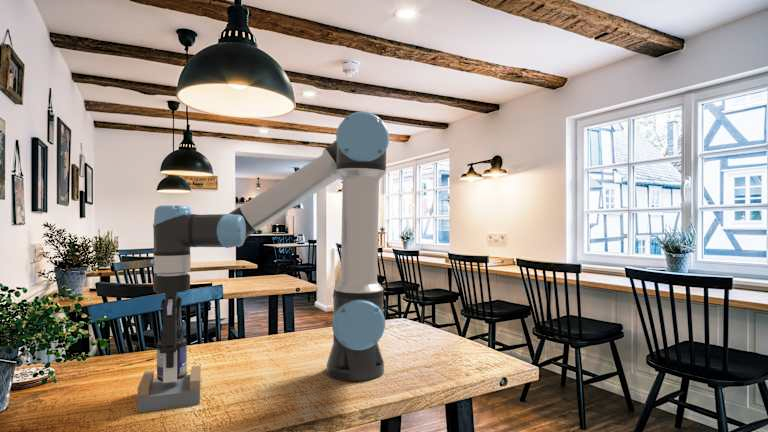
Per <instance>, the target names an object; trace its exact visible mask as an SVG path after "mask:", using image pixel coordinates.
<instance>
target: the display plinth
mask: <svg viewBox="0 0 768 432" xmlns="http://www.w3.org/2000/svg"><path fill="white" fill-rule="evenodd" d="M201 369H202V367H201V365H192V366H191V368H190V374H186V376H185V377H183V378H181V379H178V380H177V381H176V382H167V383H163V381H159V380H158V379H157V377H156V378H155V370H149V371H144V372H143V375H142V377H141V379H140V381H139V385H138V386H137V398H136V400H137V402H136V403H137V405H136V406H137V407H136V410H137V411H136V413H138V414H140V413H145V412H152V411H161V410H167V409H175V408H182V407H190V406H196V405H200V404H201V402H200V401H201V383H202V382H201V381H202V379H201V377H202V376H201Z"/></svg>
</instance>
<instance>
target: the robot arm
mask: <svg viewBox="0 0 768 432" xmlns="http://www.w3.org/2000/svg"><path fill="white" fill-rule="evenodd" d="M335 138H336V139H335V140H334V141H333V142H332V143H331V144H330V145H328V146H326V147H325V148H324V149H322V150H323V152H322V154H321V155H319V156H318V157H316V158H315V159H313V160H312V161H310V162H309V163H307V164H306V165H303V166H302V167H300V168H299V169H297V170H295V171H294V172H293V173H290V175H288V176H286V177H285V178H282V179H281V180H280V181H279V182H277V183H275V184H273V185H272V186H271V187H268V188H267V189H266V190H264V191H262V192H260V193H259V194H257V195H255V196H254V197H253V198H251V199H250V200H248V201H246V202H245V203H243V204H242V205H240V206H239V207H237V208H235V209H233V210H232V211H230V212H229V213H224V214H223V213H221V214H220V213H219V214H217V213H216V214H195V213H192V211H191V208H190V206H189V205H173V204H172V205H171V204H170V205H169V204H168V205H166V204H165V205H163V204H162V205H158V206H156V208H155V209H154V212H153V213H154V216H153V224H152V227H153V258H152V259H151V260H150V264H151V265H153V273H155V275H154V276H153V277H152V279H153V282H152V284H153V286H152V289H153V292H155V293H156V294H165V295H164V298H162V300H161V303H160V305H161V306H160V308H161V309H162V310H161V311H162V313H161V315H162V316H161V319H162V321H163V323H162V325H163V326H162V328H163V348H162V350H160V353H163V383H167V382H176V381H177V351H176V350H177V348H176V340H177V326H180V317H181V311H182V310H181V308H182V301H183V299H182V297H180V296H179V293H185V292H188V291H189V290H190V288H191V275H190V274H189V272H191V248H226V249H229V248H240V247H242V246H243V245H244V243H245V241H246V239H247V237H249V236H251V235H253V234H254V233H255V232H257V231H258V230H260V229H261V228H263V227H265V226H266V225H268V224H269V223H271V222H273V221H274V220H276V219H278V218H279V217H280V216H282V215H283V214H286V213H287V212H288V211H290V210H292V209H293V208H295V207H296V206H297V205H300V204H301V203H303V202H304V201H306V200H308V199H309V198H310V197H313V195H315V194H316V193H318V192H320V191H321V190H323V189H324V188H326V187H328V186H329V185H330V184H332V183H334V182H336V181H337V180H341V181H342V193H341V194H342V197H341V198H342V200H341V201H342V203H341V205H342V206H341V241H340V242H341V246H340V250H341V251H340V280H339V282H338V283H337V284H336V285H335V286H334V287H333V292H332V299H333V302H332V303H333V305H332V306H333V308H332V309H333V310H332V311H333V314H332V315H333V316H332V322H331V323H332V324H331V327H332V329H331V330H332V331H333V332H332V333H333V341H332V342H333V343H332V346H331V350H330V353H329V356H328V359H327V363H326V375H328V377H331V378H332V379H334V380H339V381H346V382H361V381H369V380H373V379H376V378H378V377H381V376H382V375H383V374H384V373H385V362H384V358H383V355H382V352H381V350H380V346H379V341H380V340H381V338H383V337H382V336H383V334H384V331H385V329H386V319H385V315H384V288H383V286H382V285H381V284H380V283H379V282H378V260H379V259H378V255H379V254H378V253H379V250H378V247H379V213H380V212H379V210H380V209H379V208H380V207H379V202H380V180H381V178H383V176H384V175H385V174H386V173H387V170H386V169H387V148H388V147H389V143H390V135H389V130H388V128H387V126H386V123H385V122H384V121H383V120H382V119H381V118H380V117H379V116H378V115H376V114H375V113H372V112H369V111H357V112H353V113H351V114H349V115H347V116H346V117H345V118H344V119H343V120H342V121H341V122H340V123H339V126H338V127H337V131H336V136H335Z"/></svg>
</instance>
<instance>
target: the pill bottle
mask: <svg viewBox="0 0 768 432" xmlns="http://www.w3.org/2000/svg"><path fill="white" fill-rule="evenodd" d="M183 334H184V326H180V325H179V326H177V340H176V348H177V350H176V351H177V380H178V379H181V378H183V377H185V376H186V375H188V371H187V370H188V369H187V366H188V363H187V359H188V357H187V356H188V355H187V354H188V353H187V351H188V349H187V343H188V342H187V339H186V338H185V337H184V336H183ZM159 336H160V337H161V339H159V340H157V343H156V378H157V379H158V380H159V381H163V353H160V350H162V348H163V327H162V328H161V329H160V331H159Z"/></svg>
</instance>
